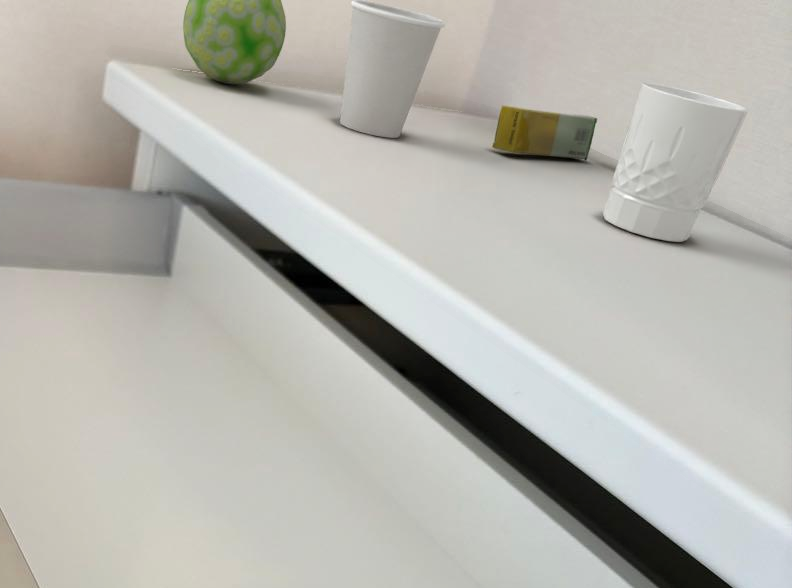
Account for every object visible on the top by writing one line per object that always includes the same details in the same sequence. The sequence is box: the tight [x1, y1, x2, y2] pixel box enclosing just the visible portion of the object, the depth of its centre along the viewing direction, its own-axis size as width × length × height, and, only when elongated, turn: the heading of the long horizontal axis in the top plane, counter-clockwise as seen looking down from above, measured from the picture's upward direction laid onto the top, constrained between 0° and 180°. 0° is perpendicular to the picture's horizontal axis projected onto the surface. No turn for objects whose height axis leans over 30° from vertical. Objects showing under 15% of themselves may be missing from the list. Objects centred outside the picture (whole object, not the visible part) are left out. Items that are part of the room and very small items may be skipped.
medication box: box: [491, 105, 598, 161], centre depth 105 cm, size 12×3×4 cm, turn 127°
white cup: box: [602, 82, 749, 243], centre depth 84 cm, size 8×8×10 cm
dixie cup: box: [339, 0, 445, 139], centre depth 98 cm, size 8×8×10 cm
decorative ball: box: [182, 0, 287, 85], centre depth 104 cm, size 10×10×10 cm
